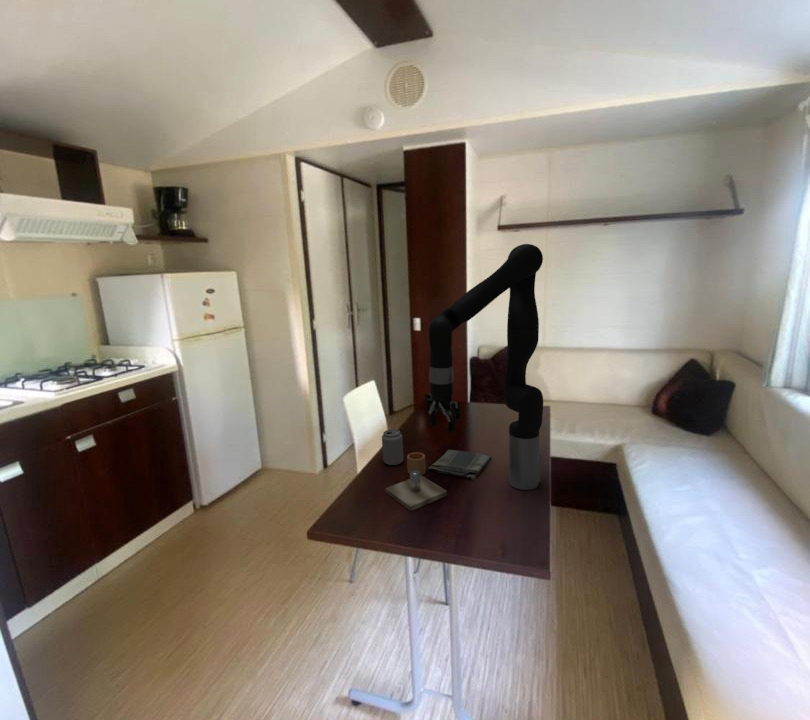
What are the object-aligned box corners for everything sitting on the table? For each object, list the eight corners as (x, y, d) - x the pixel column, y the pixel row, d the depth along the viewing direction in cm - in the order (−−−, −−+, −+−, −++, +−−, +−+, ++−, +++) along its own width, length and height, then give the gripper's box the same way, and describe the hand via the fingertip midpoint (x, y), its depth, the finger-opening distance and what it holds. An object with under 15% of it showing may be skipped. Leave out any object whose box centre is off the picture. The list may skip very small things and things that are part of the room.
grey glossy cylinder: (416, 486, 138) (415, 468, 137) (422, 490, 135) (421, 472, 134) (408, 489, 136) (407, 472, 135) (414, 493, 134) (413, 475, 132)
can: (391, 456, 165) (389, 426, 162) (407, 460, 160) (405, 430, 158) (379, 463, 159) (377, 433, 156) (395, 468, 154) (393, 437, 152)
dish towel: (448, 452, 166) (447, 444, 166) (492, 460, 158) (492, 452, 157) (426, 473, 151) (426, 464, 150) (474, 483, 142) (474, 474, 141)
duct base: (420, 478, 146) (420, 474, 145) (447, 495, 134) (446, 491, 134) (385, 492, 138) (385, 488, 138) (410, 511, 127) (410, 506, 126)
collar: (418, 466, 155) (417, 451, 154) (428, 472, 150) (428, 456, 149) (404, 471, 152) (404, 455, 150) (414, 477, 147) (413, 461, 146)
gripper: (466, 382, 131) (466, 431, 135) (435, 373, 143) (436, 419, 146) (447, 386, 127) (448, 438, 131) (418, 378, 138) (419, 425, 142)
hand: (442, 428), depth 138 cm, fingers open, 8 cm apart
